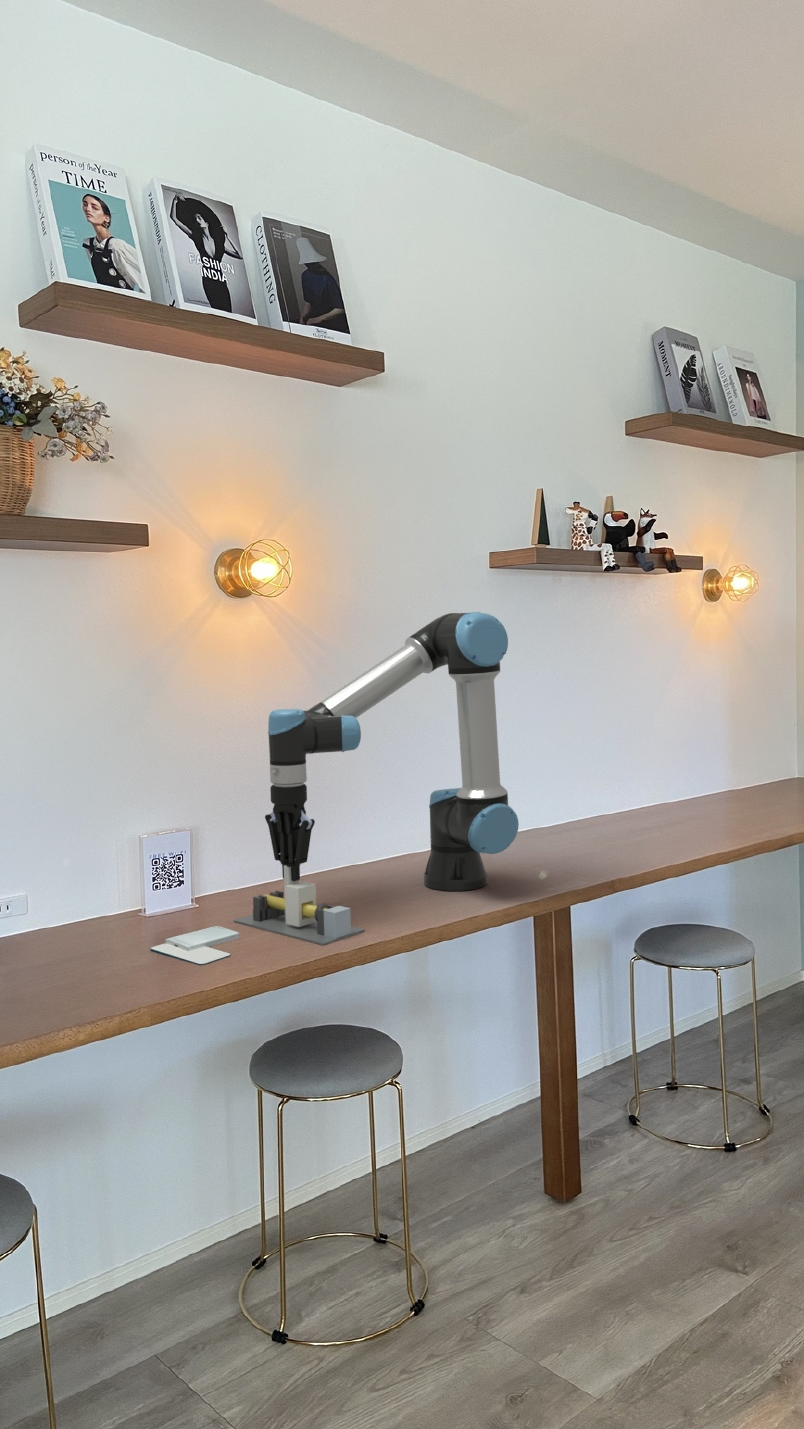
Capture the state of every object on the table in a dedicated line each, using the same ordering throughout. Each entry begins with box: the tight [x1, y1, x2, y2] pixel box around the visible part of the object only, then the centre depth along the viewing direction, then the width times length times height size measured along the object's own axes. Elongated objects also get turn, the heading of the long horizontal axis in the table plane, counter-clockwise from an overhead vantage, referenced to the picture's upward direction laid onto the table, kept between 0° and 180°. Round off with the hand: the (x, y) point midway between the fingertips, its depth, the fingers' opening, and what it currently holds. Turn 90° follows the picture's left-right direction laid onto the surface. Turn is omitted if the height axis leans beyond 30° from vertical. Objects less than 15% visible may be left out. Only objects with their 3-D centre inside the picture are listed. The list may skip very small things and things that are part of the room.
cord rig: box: [233, 890, 366, 946], centre depth 221 cm, size 27×12×6 cm, turn 49°
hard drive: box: [164, 925, 241, 951], centre depth 213 cm, size 2×8×12 cm
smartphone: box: [150, 942, 232, 966], centre depth 205 cm, size 8×1×16 cm
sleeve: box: [284, 880, 317, 927], centre depth 220 cm, size 4×5×8 cm
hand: (291, 895), depth 222 cm, fingers closed
